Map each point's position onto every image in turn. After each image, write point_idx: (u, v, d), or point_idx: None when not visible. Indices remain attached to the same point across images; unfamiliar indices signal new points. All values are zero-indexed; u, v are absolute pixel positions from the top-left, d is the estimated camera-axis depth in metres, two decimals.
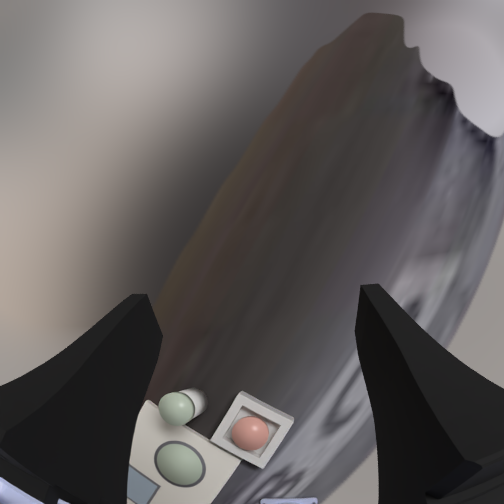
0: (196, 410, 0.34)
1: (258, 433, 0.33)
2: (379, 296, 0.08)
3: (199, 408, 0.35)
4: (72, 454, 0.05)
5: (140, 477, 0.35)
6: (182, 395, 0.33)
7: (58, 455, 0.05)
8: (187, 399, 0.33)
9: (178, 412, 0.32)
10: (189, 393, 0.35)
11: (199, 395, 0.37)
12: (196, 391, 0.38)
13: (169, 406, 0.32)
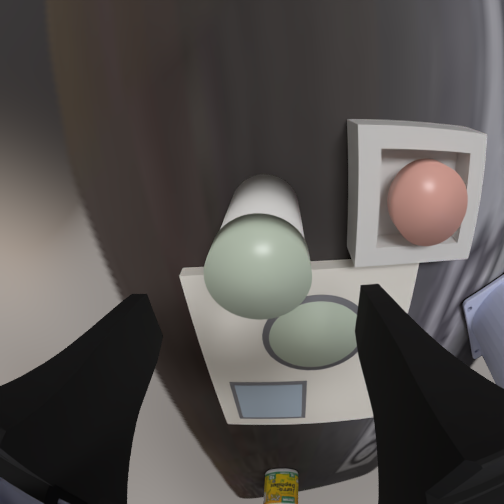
0: (301, 232, 0.13)
1: (449, 195, 0.13)
2: (379, 296, 0.08)
3: (299, 219, 0.14)
4: (72, 454, 0.05)
5: (269, 388, 0.26)
6: (250, 228, 0.11)
7: (58, 455, 0.05)
8: (269, 225, 0.11)
9: (272, 278, 0.12)
10: (254, 202, 0.13)
11: (273, 188, 0.15)
12: (259, 184, 0.16)
13: (239, 281, 0.12)
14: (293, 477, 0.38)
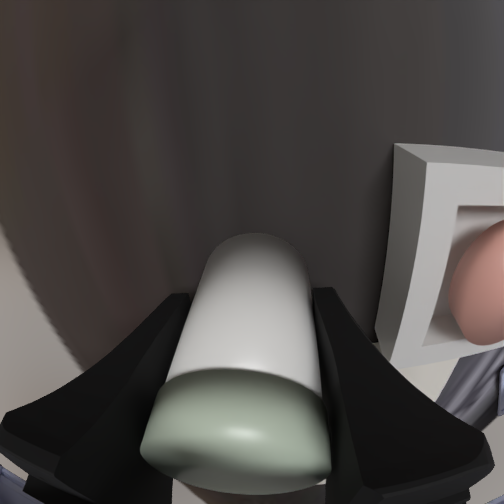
0: (317, 374, 0.07)
1: None
2: (328, 300, 0.08)
3: (312, 336, 0.08)
4: (125, 470, 0.05)
5: None
6: (212, 428, 0.05)
7: (112, 474, 0.04)
8: (254, 417, 0.05)
9: (260, 474, 0.05)
10: (230, 323, 0.07)
11: (268, 273, 0.09)
12: (244, 261, 0.09)
13: (202, 471, 0.06)
14: None
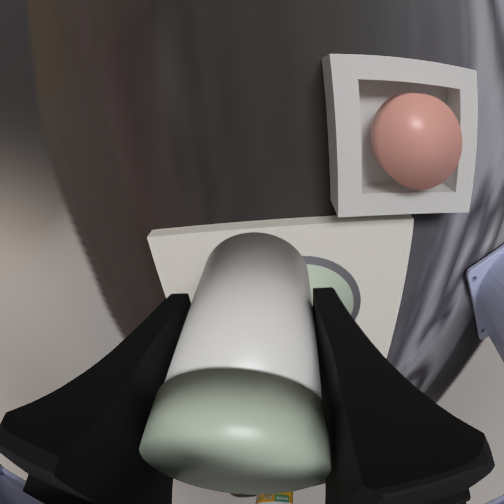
0: (316, 373, 0.07)
1: (440, 130, 0.11)
2: (327, 300, 0.08)
3: (312, 336, 0.08)
4: (125, 470, 0.05)
5: None
6: (211, 428, 0.04)
7: (112, 474, 0.04)
8: (254, 417, 0.05)
9: (260, 474, 0.05)
10: (229, 322, 0.07)
11: (268, 272, 0.09)
12: (243, 261, 0.09)
13: (202, 471, 0.06)
14: None
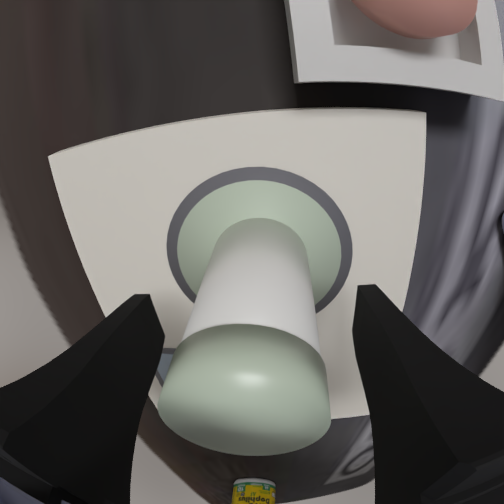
0: (316, 336, 0.08)
1: None
2: (376, 296, 0.08)
3: (311, 305, 0.09)
4: (75, 455, 0.05)
5: None
6: (227, 370, 0.06)
7: (61, 456, 0.05)
8: (263, 361, 0.06)
9: (266, 426, 0.07)
10: (239, 289, 0.08)
11: (271, 250, 0.10)
12: (250, 240, 0.10)
13: (214, 425, 0.07)
14: (267, 489, 0.29)
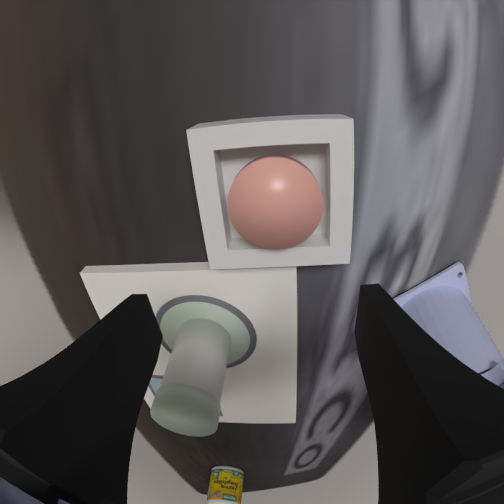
0: (216, 387, 0.18)
1: (294, 193, 0.14)
2: (379, 296, 0.08)
3: (219, 371, 0.19)
4: (72, 454, 0.05)
5: None
6: (173, 401, 0.15)
7: (58, 455, 0.05)
8: (186, 399, 0.16)
9: (192, 422, 0.16)
10: (183, 366, 0.18)
11: (202, 343, 0.20)
12: (193, 336, 0.20)
13: (172, 420, 0.16)
14: (236, 475, 0.39)
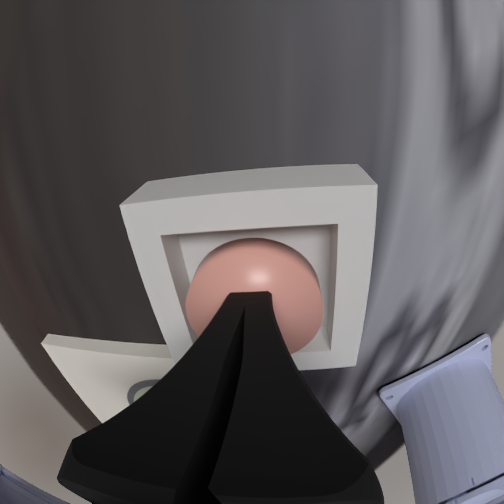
0: None
1: (280, 300, 0.10)
2: (257, 304, 0.09)
3: None
4: None
5: None
6: None
7: (208, 493, 0.04)
8: None
9: None
10: None
11: None
12: None
13: None
14: None
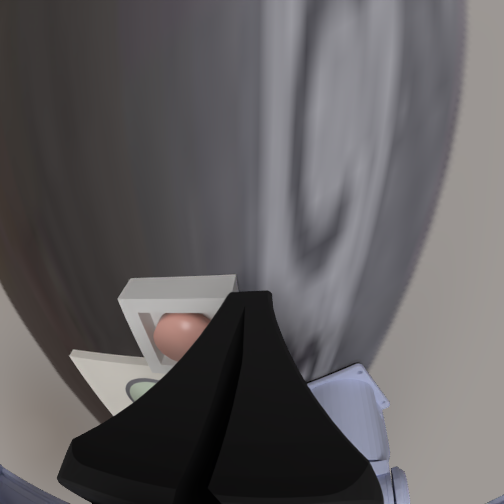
0: None
1: (194, 338, 0.20)
2: (257, 304, 0.09)
3: None
4: None
5: None
6: None
7: (208, 493, 0.04)
8: None
9: None
10: None
11: None
12: None
13: None
14: None
